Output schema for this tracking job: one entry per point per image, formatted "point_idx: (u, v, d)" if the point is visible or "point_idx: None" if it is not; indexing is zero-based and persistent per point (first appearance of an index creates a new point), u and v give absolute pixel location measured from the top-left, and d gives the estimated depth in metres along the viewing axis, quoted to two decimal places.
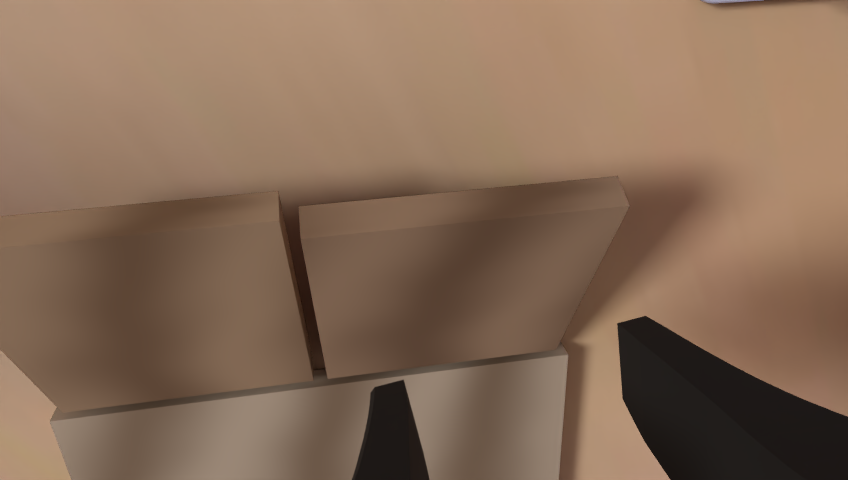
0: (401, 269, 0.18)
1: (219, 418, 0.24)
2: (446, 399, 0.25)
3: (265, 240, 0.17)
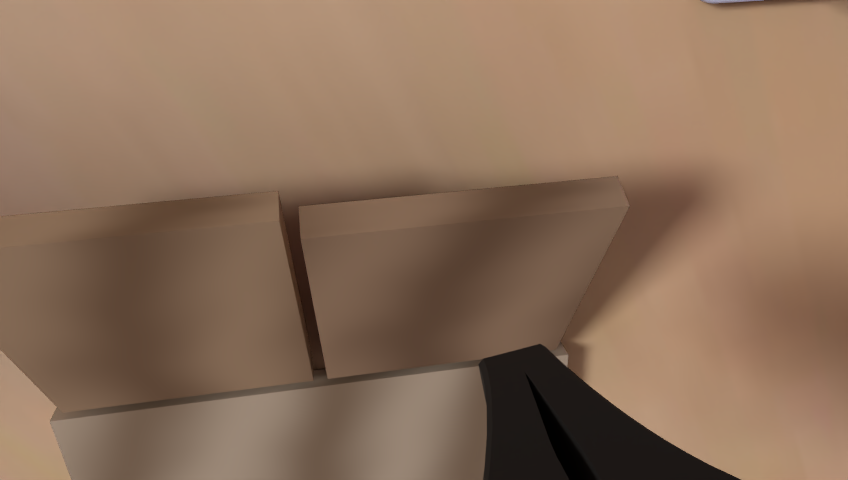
0: (401, 269, 0.18)
1: (219, 418, 0.24)
2: (446, 399, 0.25)
3: (265, 240, 0.17)
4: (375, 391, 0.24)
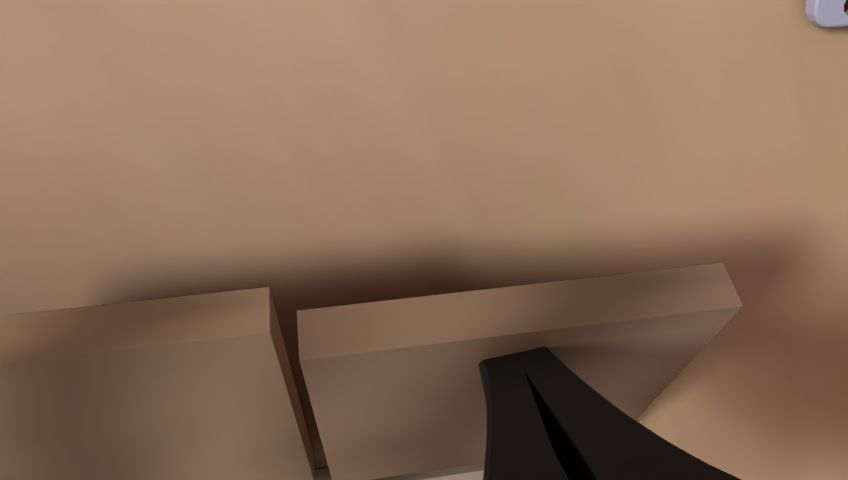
0: (433, 383, 0.14)
1: None
2: None
3: (251, 354, 0.12)
4: None
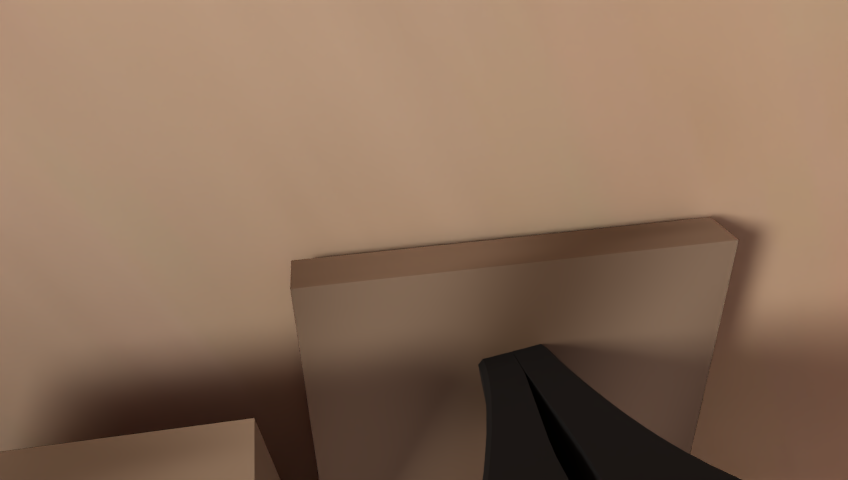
0: (434, 359, 0.13)
1: None
2: None
3: None
4: None
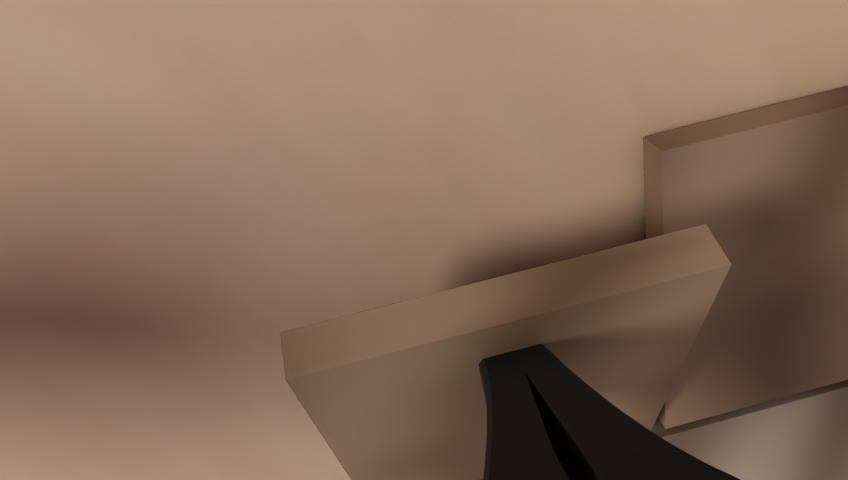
0: (761, 199, 0.16)
1: None
2: (797, 432, 0.21)
3: (699, 290, 0.13)
4: (717, 435, 0.20)
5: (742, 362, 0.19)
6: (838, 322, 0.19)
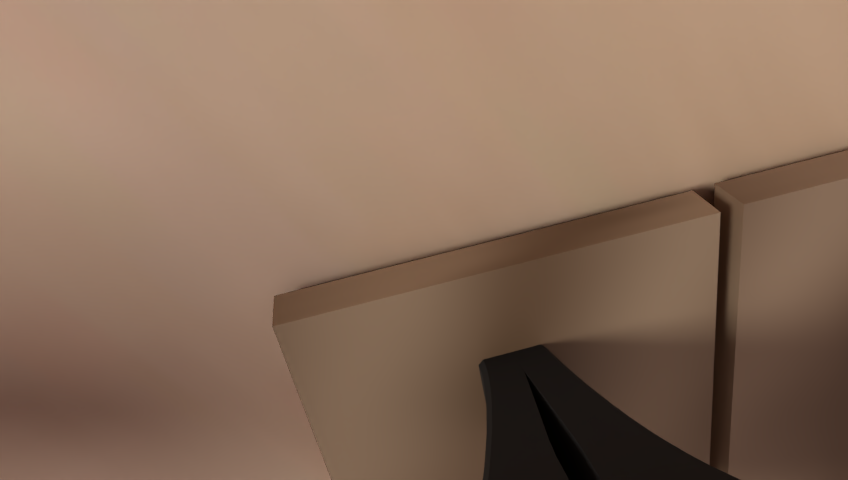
0: None
1: None
2: None
3: (697, 251, 0.13)
4: None
5: (819, 440, 0.16)
6: None
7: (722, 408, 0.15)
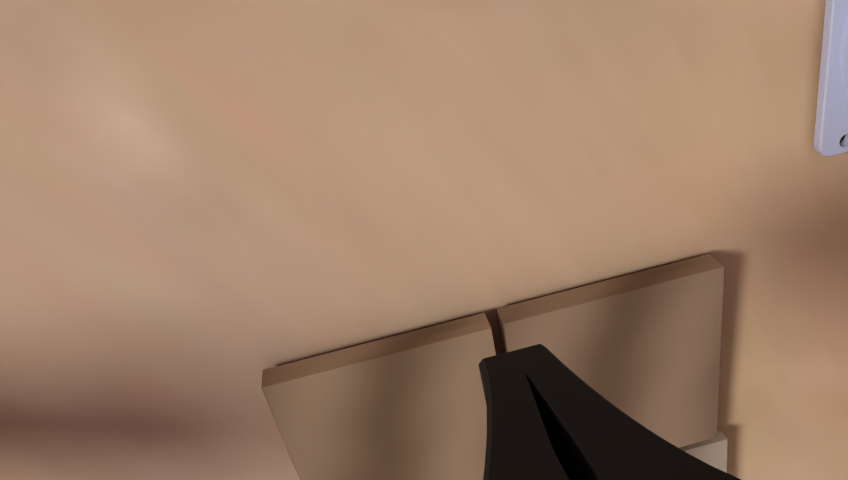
0: (574, 347, 0.25)
1: None
2: None
3: (482, 346, 0.24)
4: None
5: None
6: (643, 417, 0.27)
7: None
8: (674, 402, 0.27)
